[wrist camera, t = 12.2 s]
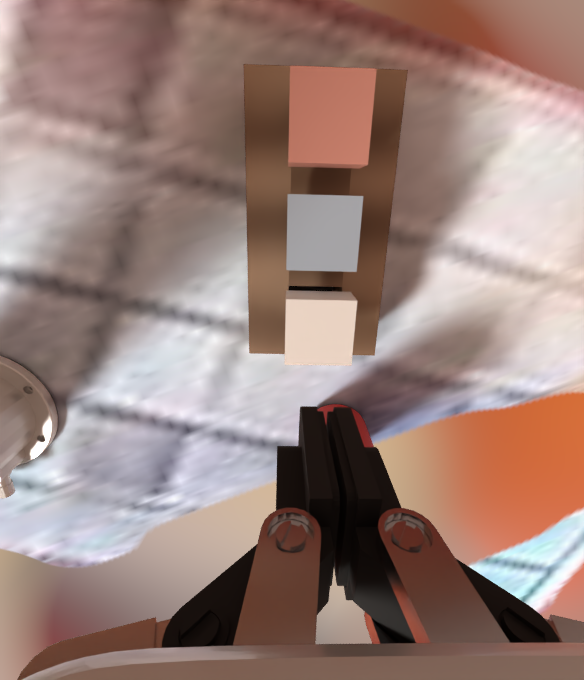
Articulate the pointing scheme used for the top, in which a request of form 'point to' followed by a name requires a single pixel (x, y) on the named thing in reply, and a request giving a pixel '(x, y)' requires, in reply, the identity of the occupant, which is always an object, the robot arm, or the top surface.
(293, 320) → the white key
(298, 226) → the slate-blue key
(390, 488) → the robot arm
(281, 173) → the walnut console
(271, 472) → the top surface
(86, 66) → the top surface
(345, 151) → the brick-red key
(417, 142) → the top surface
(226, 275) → the top surface
